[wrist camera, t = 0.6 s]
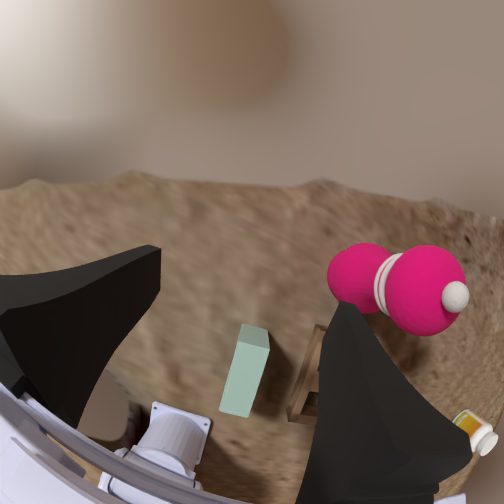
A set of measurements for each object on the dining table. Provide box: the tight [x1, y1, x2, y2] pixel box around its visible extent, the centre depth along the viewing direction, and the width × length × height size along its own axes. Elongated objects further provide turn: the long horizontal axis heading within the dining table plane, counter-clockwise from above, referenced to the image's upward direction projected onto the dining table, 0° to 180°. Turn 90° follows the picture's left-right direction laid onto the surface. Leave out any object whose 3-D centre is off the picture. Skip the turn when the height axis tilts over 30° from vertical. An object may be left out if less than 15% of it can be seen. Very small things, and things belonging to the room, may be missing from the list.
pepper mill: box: [327, 243, 469, 336], centre depth 21 cm, size 7×7×20 cm
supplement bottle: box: [453, 409, 498, 456], centre depth 26 cm, size 5×5×10 cm
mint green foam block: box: [219, 323, 270, 418], centre depth 28 cm, size 8×3×7 cm, turn 165°
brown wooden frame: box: [286, 324, 328, 425], centre depth 30 cm, size 12×6×3 cm, turn 165°
